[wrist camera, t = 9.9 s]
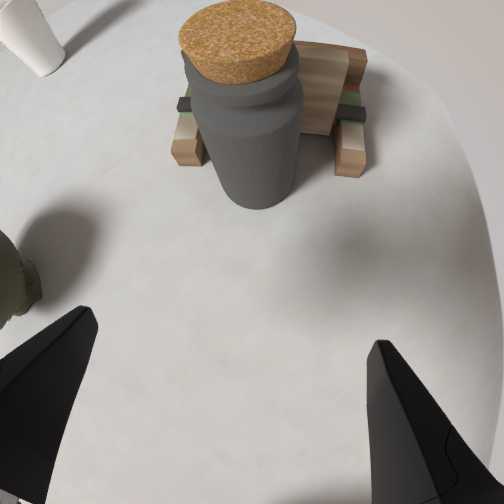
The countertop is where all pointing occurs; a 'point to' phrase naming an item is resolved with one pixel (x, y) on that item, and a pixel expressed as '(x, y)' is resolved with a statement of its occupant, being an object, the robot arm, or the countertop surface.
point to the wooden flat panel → (317, 90)
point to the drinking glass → (30, 36)
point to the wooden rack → (345, 132)
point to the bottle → (246, 96)
